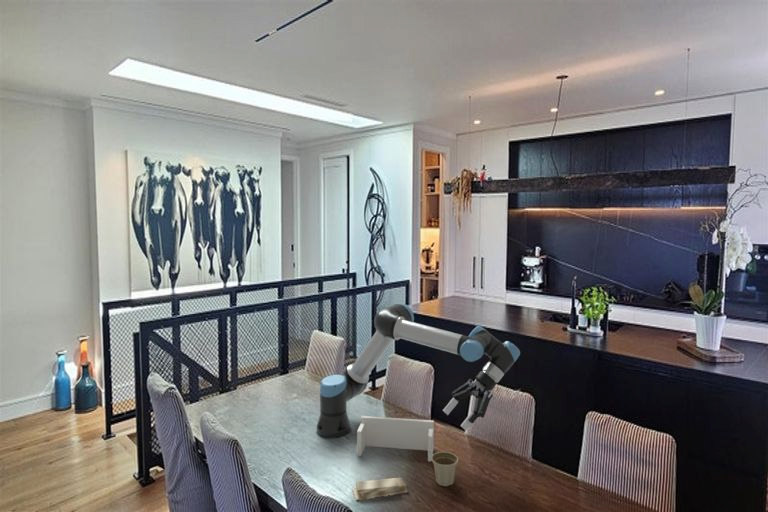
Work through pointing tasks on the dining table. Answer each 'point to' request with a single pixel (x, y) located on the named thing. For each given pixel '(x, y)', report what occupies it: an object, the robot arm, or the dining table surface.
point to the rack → (396, 434)
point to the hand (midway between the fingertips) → (453, 420)
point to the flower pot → (444, 467)
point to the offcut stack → (379, 488)
